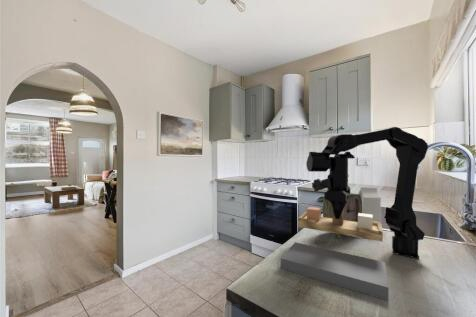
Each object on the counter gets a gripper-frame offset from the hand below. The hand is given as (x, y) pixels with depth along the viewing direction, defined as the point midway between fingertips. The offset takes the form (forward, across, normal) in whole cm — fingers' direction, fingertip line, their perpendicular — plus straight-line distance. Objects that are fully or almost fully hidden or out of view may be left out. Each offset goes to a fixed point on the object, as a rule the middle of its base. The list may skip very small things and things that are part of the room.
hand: (338, 217), depth 73 cm
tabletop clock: (+13, -21, -1) cm, 24 cm away
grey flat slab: (+12, +13, 0) cm, 18 cm away
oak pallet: (+4, 0, 0) cm, 4 cm away
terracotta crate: (+2, 0, -8) cm, 8 cm away
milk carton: (+13, -36, +9) cm, 39 cm away
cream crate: (+2, 0, +8) cm, 8 cm away
